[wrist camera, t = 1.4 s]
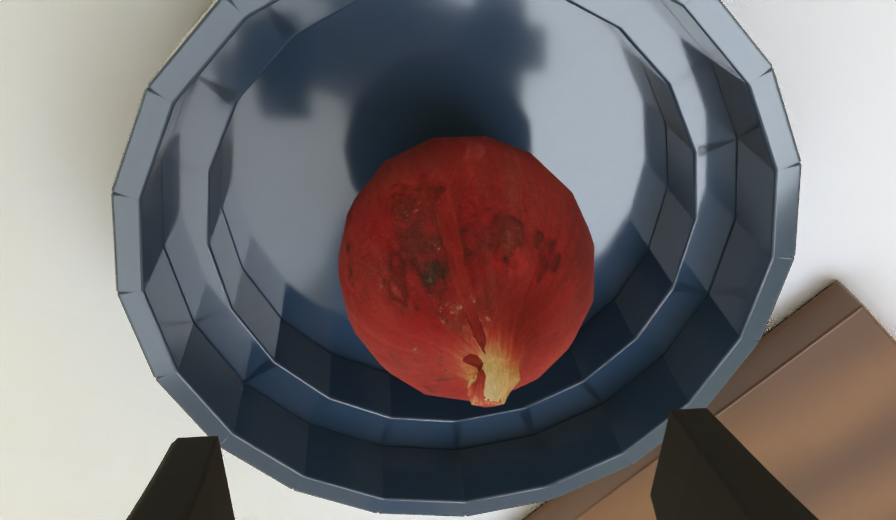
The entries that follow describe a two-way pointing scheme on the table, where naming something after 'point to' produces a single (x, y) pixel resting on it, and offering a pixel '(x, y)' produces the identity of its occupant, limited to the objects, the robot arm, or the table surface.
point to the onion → (466, 268)
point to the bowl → (400, 128)
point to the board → (792, 420)
